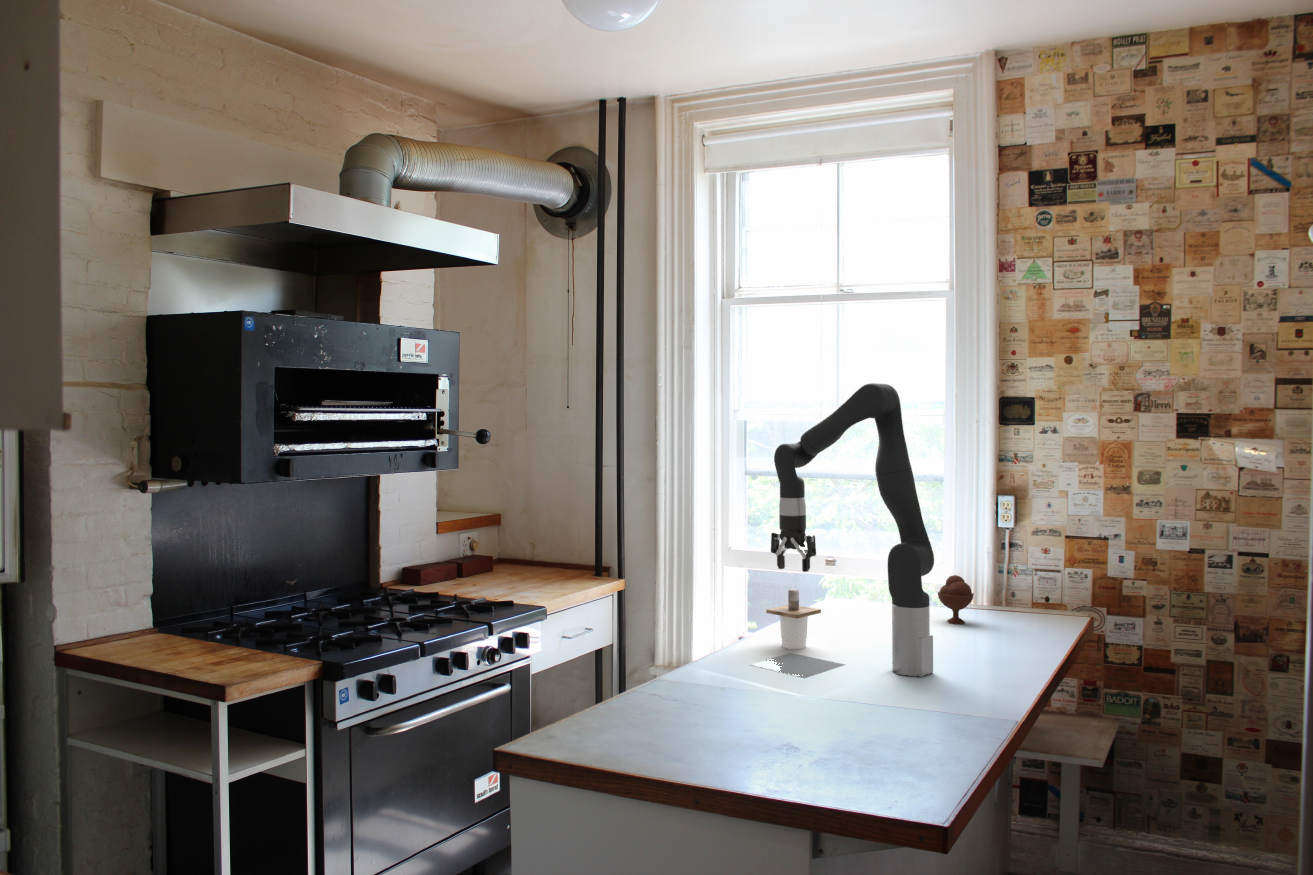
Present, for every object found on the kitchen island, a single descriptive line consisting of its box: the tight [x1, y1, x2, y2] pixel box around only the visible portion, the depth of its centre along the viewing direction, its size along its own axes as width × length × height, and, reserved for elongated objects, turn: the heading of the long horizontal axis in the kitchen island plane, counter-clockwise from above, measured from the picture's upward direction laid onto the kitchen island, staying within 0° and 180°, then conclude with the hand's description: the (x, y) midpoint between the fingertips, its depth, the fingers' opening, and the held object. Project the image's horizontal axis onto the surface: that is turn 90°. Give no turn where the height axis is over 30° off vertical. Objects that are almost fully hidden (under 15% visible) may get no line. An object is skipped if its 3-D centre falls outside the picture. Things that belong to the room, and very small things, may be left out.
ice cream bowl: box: [937, 574, 975, 625], centre depth 284 cm, size 11×11×15 cm
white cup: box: [779, 615, 809, 650], centre depth 252 cm, size 8×8×10 cm
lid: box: [765, 588, 822, 619], centre depth 252 cm, size 11×11×6 cm
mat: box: [765, 652, 846, 679], centre depth 232 cm, size 18×18×1 cm
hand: (793, 570), depth 252 cm, fingers open, 8 cm apart
